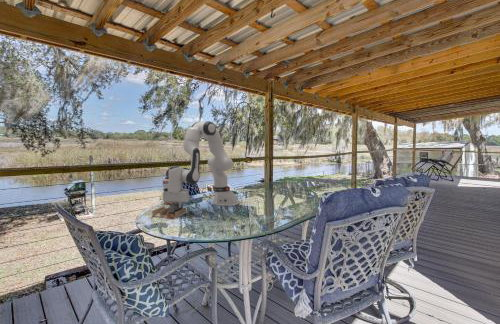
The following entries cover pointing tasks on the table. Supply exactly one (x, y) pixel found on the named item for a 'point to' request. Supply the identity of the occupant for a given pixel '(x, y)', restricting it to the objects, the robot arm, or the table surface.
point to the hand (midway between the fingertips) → (176, 207)
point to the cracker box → (165, 184)
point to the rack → (168, 213)
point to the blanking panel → (175, 207)
